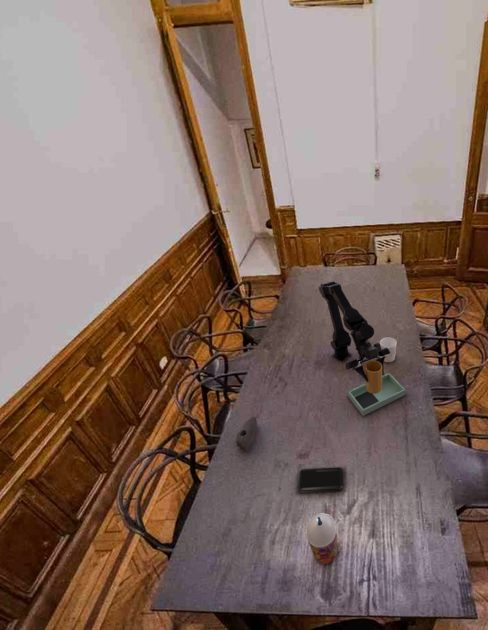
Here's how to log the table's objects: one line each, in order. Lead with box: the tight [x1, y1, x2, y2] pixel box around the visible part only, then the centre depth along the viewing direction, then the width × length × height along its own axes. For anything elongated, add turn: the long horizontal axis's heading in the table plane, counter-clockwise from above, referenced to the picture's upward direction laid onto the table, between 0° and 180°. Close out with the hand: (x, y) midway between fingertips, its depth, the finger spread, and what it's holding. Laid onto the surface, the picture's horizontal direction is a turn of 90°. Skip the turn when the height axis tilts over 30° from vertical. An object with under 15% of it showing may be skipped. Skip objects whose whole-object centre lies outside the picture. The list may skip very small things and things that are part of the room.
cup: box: [364, 360, 382, 394], centre depth 140 cm, size 7×7×12 cm
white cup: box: [379, 336, 397, 363], centre depth 165 cm, size 8×8×10 cm
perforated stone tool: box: [235, 416, 258, 453], centre depth 130 cm, size 15×5×7 cm, turn 172°
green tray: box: [347, 372, 406, 417], centre depth 147 cm, size 21×12×4 cm, turn 120°
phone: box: [297, 466, 344, 494], centre depth 117 cm, size 8×1×15 cm
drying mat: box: [354, 391, 379, 409], centre depth 145 cm, size 8×8×1 cm
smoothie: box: [305, 513, 338, 565], centre depth 93 cm, size 8×8×20 cm
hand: (375, 378), depth 139 cm, fingers closed on cup, 7 cm apart
